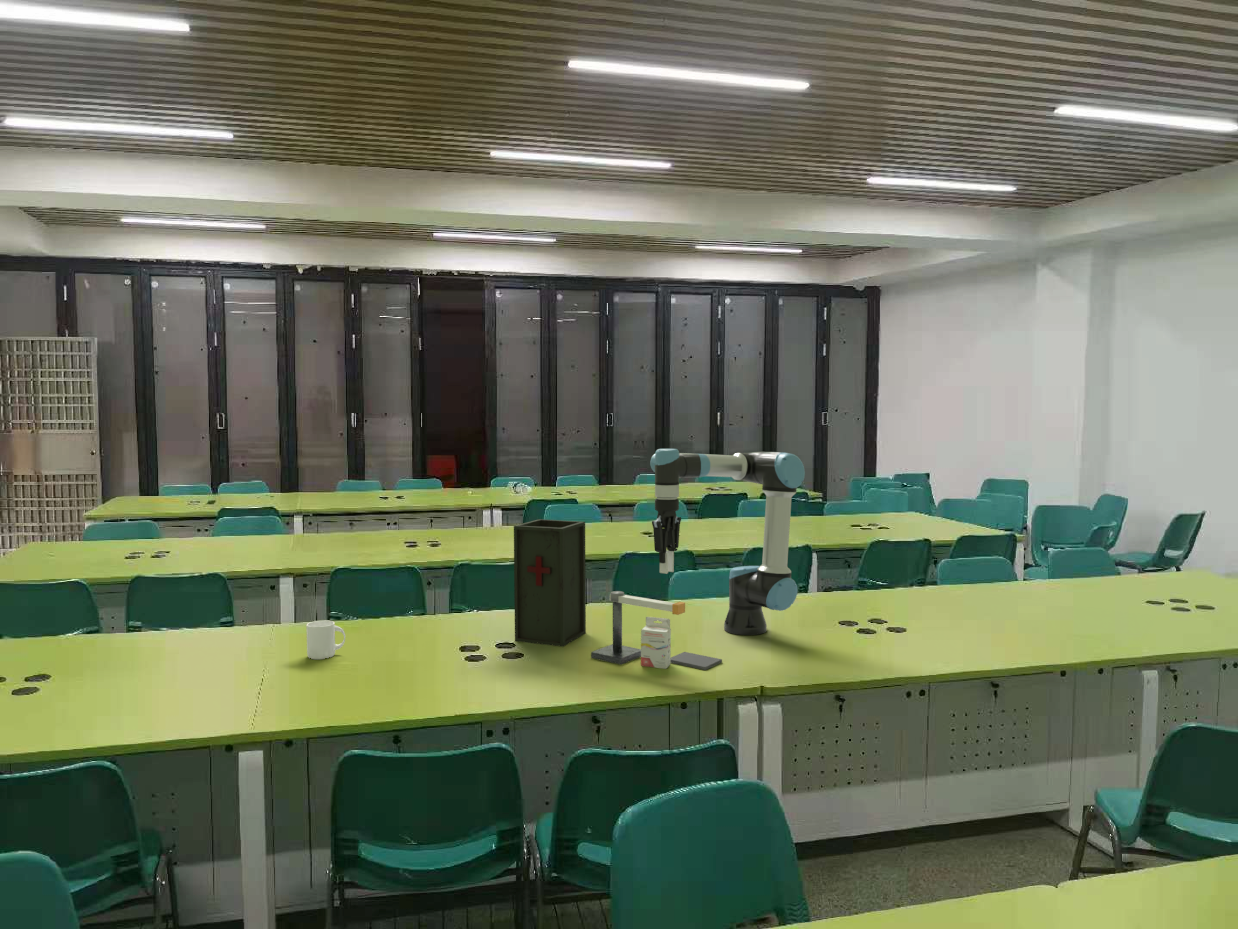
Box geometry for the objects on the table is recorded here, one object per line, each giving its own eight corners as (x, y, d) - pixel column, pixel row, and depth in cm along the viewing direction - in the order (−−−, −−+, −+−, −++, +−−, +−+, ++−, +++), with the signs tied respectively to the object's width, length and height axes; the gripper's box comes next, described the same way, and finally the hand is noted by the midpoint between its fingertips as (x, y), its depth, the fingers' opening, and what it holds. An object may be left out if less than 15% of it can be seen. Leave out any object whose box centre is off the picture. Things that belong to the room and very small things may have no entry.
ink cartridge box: (640, 666, 267) (640, 619, 266) (644, 662, 272) (645, 616, 271) (666, 669, 264) (666, 622, 263) (671, 664, 269) (671, 618, 268)
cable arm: (607, 602, 276) (607, 593, 275) (616, 600, 279) (615, 590, 279) (677, 615, 259) (677, 604, 259) (685, 612, 263) (685, 601, 263)
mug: (348, 656, 279) (347, 623, 278) (309, 661, 273) (308, 628, 272) (343, 649, 286) (342, 617, 286) (305, 654, 281) (304, 622, 280)
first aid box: (514, 641, 296) (513, 525, 293) (539, 628, 313) (538, 519, 310) (563, 646, 289) (562, 528, 286) (585, 633, 306) (585, 521, 303)
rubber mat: (684, 654, 280) (684, 651, 279) (721, 662, 271) (721, 659, 271) (667, 662, 272) (667, 659, 272) (705, 670, 263) (705, 667, 263)
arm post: (613, 649, 286) (613, 596, 284) (643, 655, 278) (643, 601, 277) (591, 658, 276) (591, 602, 275) (621, 664, 269) (621, 608, 268)
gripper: (670, 495, 278) (670, 567, 279) (642, 499, 265) (642, 574, 267) (690, 496, 273) (690, 569, 275) (662, 501, 261) (662, 577, 263)
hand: (666, 572), depth 271 cm, fingers open, 3 cm apart
